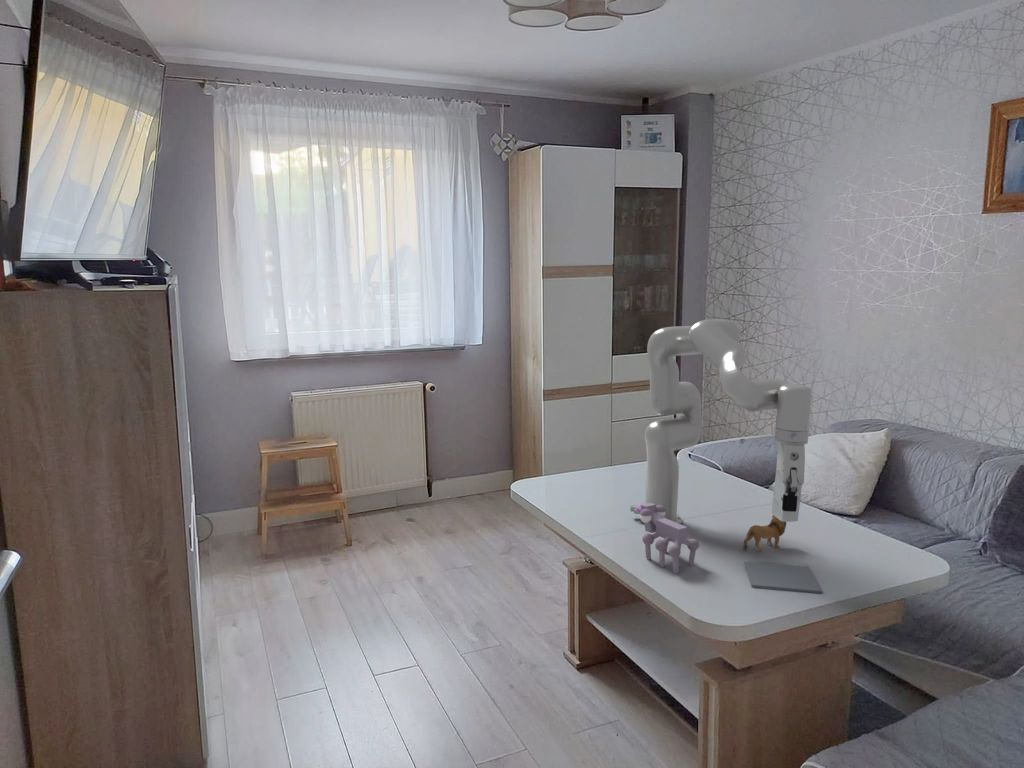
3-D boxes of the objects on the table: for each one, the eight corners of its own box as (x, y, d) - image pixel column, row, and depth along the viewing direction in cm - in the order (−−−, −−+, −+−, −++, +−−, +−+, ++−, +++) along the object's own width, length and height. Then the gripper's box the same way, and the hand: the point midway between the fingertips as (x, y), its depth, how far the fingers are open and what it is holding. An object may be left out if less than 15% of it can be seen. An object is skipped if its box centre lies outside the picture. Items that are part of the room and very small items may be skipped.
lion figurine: (774, 539, 199) (777, 509, 198) (789, 546, 194) (792, 515, 193) (737, 548, 192) (739, 517, 191) (751, 555, 188) (754, 524, 186)
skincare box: (770, 513, 175) (774, 467, 173) (787, 513, 175) (791, 466, 173) (782, 522, 169) (786, 474, 167) (799, 522, 169) (803, 474, 167)
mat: (751, 587, 169) (751, 584, 169) (743, 563, 183) (744, 561, 183) (821, 593, 166) (821, 590, 166) (808, 568, 180) (808, 566, 180)
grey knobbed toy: (618, 548, 192) (622, 501, 190) (646, 542, 198) (650, 496, 196) (672, 575, 175) (677, 523, 173) (701, 567, 181) (705, 517, 179)
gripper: (816, 445, 159) (810, 519, 162) (800, 428, 176) (794, 495, 179) (781, 443, 161) (776, 516, 164) (769, 426, 177) (764, 493, 180)
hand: (786, 505), depth 171 cm, fingers closed on skincare box, 6 cm apart
